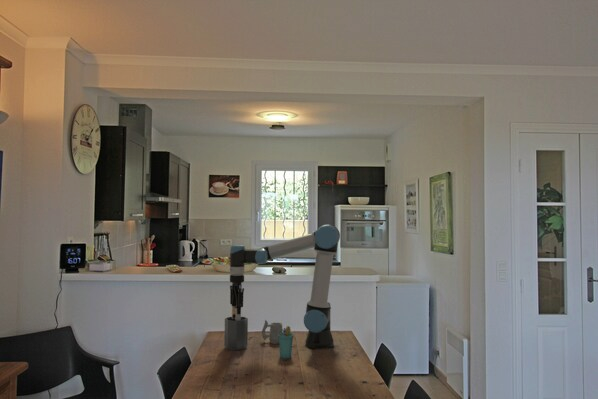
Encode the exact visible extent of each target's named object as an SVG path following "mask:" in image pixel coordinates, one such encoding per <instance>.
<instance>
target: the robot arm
mask: <svg viewBox="0 0 598 399" xmlns="http://www.w3.org/2000/svg"><path fill="white" fill-rule="evenodd" d="M340 238H341V234H340V231H339V229H338V227H336V226H334V225H332V224H323V225H320V226H319V227H318V228H317V230H313V231H312V233H309V234H305V235H302V236H298V237H293V238H291V239H288V240H284V241H281V242H277V243H274V244H270V245H267V246H262V247H260V248H253V249H252V248H251V249H250V248H249V249H248V248H246V247H245V245H242V244H234V245H231V246H230V250H229V252H230V253H229V264H230V265H229V266H230V267H229V269H228V270H229V274H230V275H229V282H230V283H232V284H231V285H229V290H230V292H229V293H230V294H229V298H230V300H229V301H230V302H229V303H230V305H231V317H232V319H235V321H238V320H241V317H242V308H243V307H244V292H245V288H244V287H242V283H244V282H245V264H254V265H255V264H257V265H261V264H262V265H265V264H267V261H270V260H273V259H277V258H280V257H285V256H288V255H291V254H296V253H299V252H303V251H306V250H309V249H313V248H314V249H313V250H314V252H315V254H316V256H315V263H314V270H313V279H312V284H311V285H312V286H311V293H310V294H311V295H310V300H309V301H308V302H306V307H305V308H306V309H305V315H304V316H303V325H304V327H305V328H306V330H308V332H307V335H306V339H305V342H304V343H305V347H308V348H311V349H319V350H320V349H329V348H333V347H334V346H335V345H334V338H333V335H332V332H331V310H332V307H331V302H330V301H329V302H328V299H329V292H330V291H329V290H330V284H331V275H332V268H333V259H334V256H335V255H336V254H337V252H338V245H339V241H340ZM233 307H235V308H236V314H235V317H233Z"/></svg>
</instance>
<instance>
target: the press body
mask: <svg viewBox="0 0 598 399" xmlns="http://www.w3.org/2000/svg"><path fill="white" fill-rule="evenodd" d="M248 321H249V319H248V317H246V316H241V320H238V321H235V319H232V316H228V317H225V318H224V338H223V339H224V349H225V350H227V351H243V350H246V349H247V347H248V339H249V338H248V337H249V336H248V333H249V332H248V331H249V328H248V327H249V326H248V323H249V322H248Z"/></svg>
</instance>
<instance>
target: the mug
mask: <svg viewBox="0 0 598 399" xmlns="http://www.w3.org/2000/svg"><path fill="white" fill-rule="evenodd" d="M267 328H269V333H268V334H266V329H267ZM283 330H284V328H283V324H282V323H281V322H272V323H268V321H267V319H265V320H264V324H263V327H262V330H261V336H262V339H263V341H266V340H267V339H268V340H269V343H271V344H275V345H276V344H279V337H278V334H281V333H283Z"/></svg>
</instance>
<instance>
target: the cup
mask: <svg viewBox="0 0 598 399" xmlns="http://www.w3.org/2000/svg"><path fill="white" fill-rule="evenodd" d="M278 337H279V343H278V346H279V357H280V358H281V359H291V358H292V350H293V349H292V348H293V339H294V337H295V336H294V334H293V333H291V327H290V326H289V325H287V326H286V327H284V328H283V331H282V333H281V334H278Z"/></svg>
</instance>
